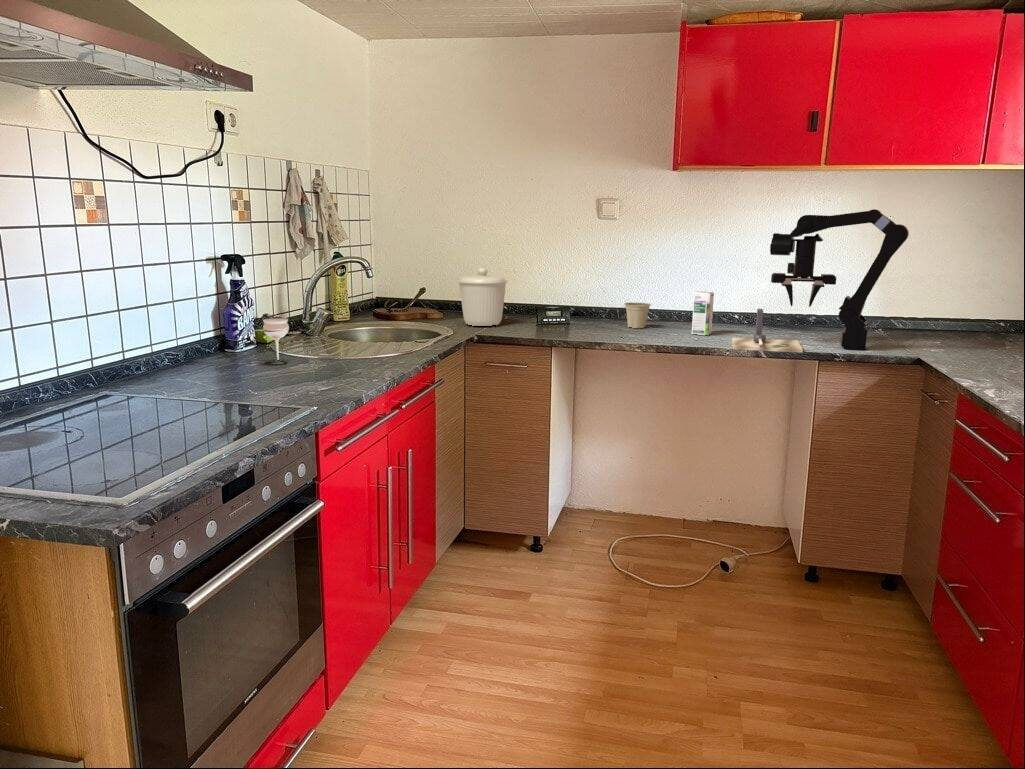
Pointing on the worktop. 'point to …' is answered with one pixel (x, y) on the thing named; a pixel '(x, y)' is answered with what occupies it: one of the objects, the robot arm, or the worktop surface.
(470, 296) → the canister
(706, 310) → the syrup box
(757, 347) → the board
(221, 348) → the worktop surface
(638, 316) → the flower pot
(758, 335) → the peg
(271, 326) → the wineglass
